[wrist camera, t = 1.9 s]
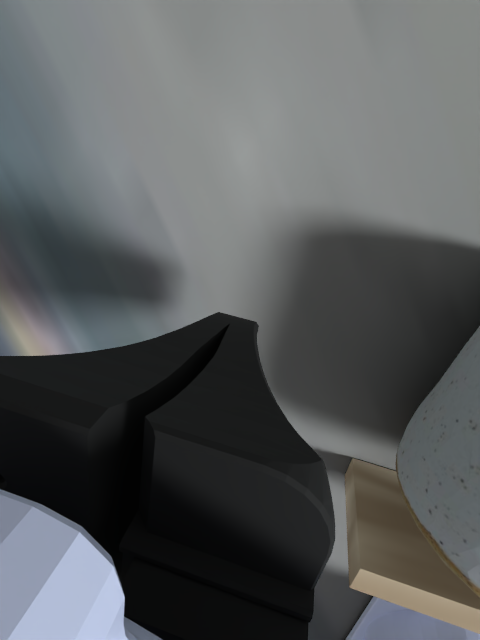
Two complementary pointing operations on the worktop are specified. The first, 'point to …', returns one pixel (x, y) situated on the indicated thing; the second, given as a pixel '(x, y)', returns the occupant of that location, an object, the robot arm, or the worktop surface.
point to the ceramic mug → (447, 466)
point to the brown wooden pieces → (399, 552)
